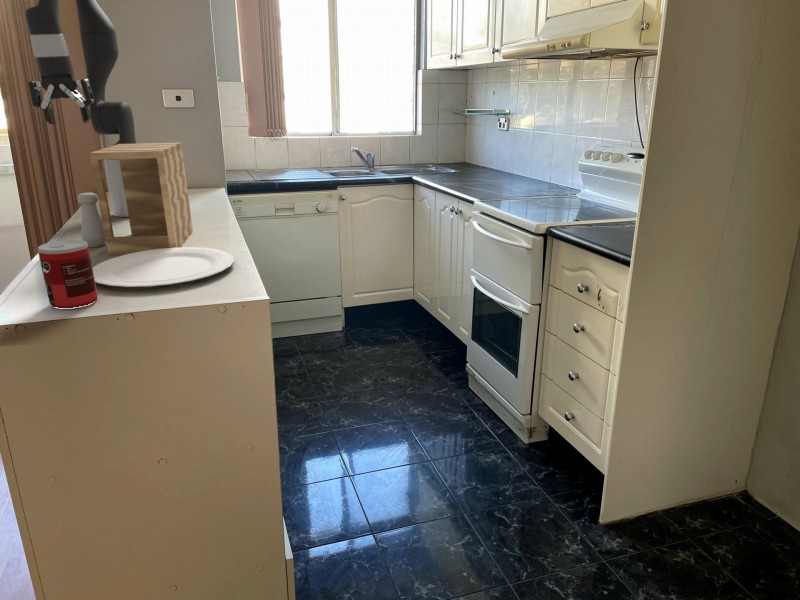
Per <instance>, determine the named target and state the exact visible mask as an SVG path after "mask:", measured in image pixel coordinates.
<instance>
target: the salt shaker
mask: <svg viewBox="0 0 800 600" xmlns="http://www.w3.org/2000/svg"><path fill="white" fill-rule="evenodd" d="M77 202H78V204H80V205H81V227H80V228H81V231H80V233H81V235H80V236H81V237H80V238H81V240H82V241H86V242H87V245H88V248H97V247H103V246H105V245H106V240H105V234H104V229H103V223H102V218H101V212H99V211H100V210H99V209H98V206H97V204H96V203H98V202H99V201H98V196H97V193H95V192H82V193H80V194H78V195H77Z"/></svg>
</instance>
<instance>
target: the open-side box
mask: <svg viewBox="0 0 800 600" xmlns="http://www.w3.org/2000/svg"><path fill="white" fill-rule="evenodd" d="M113 145H114V144H113ZM182 145H183V144H182V142H150V143H147V142H146V143H136V144H117V145H114V146H112V145H110V146H111V147H109V146H107V147H104V148H100V149H99V150H98V149H97V150H95V151H92V152H89V157H90V162H91V168H92V173H93V179H94V184H95V189H96V195H97V198H98V201H97V202H98V206H99V211H100V212H99V213H100V216H101V219H102V223H103V229H104V234H105V240H106V244H105V245H106V250H107V255H108V256H122V255H126V254H131V253H136V252H141V251H147V250H155V249H164V248H178V247H182V246H183V245H184V243H186V241H187V240H188V239H189V237H190V236H191V235H192V233H193V232H194V230H193V228H194V227H193V221H192V214H191V205H190V197H189V192H188V183H187V176H186V175H187V174H186V169H185V161H184V154H183V146H182ZM104 159H119V162H120V168H121V174H122V180H123V186H124V192H125V198H126V204H127V210H128V216H129V217H128V221H129V226H130V232H131V233H130V234H131V235H128V236H126V235H125V236H115V234H114V230H113V224H112V219H111V213H110V207H109V206H110V205H109V200H108V196H107V191H106V184H105V178H104V173H103V168H102V161H101V160H104ZM144 234H148V235H144Z"/></svg>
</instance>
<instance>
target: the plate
mask: <svg viewBox="0 0 800 600" xmlns="http://www.w3.org/2000/svg"><path fill="white" fill-rule="evenodd" d="M234 258H235V257H234V256H233V255H232V254H230V253H229V252H228V251H224V250H220V249H216V248H211V247H210V248H209V247H198V246H197V247H193V246H191V247H190V246H186V247H184V246H183V247H182V246H181V247H178V248H164V249H155V250H147V251H141V252H136V253H131V254H126V255H118V256H116V257H111V258H109V259H107V260H105V261H102V262H98V264H96V265H94V266H92V269H93V274H94V279H95V284H98V285H101V286H106V287H111V288H122V289H123V288H124V289H125V288H126V289H138V288H139V289H144V288H146V289H147V288H148V289H149V288H150V287H152V288H160V286H164V287H171V286H170V285H172V286H177V285H176V284H178V285H182V283H183V284H187V283H192V282H196V281H200V280H204V279H207V278H210V277H212V276H213V277H214V276H215V275H218V274H220V273H223V272H224V271H226V270H228V269H229V268H231V267H232V266H233V264H234V263H235V259H234Z"/></svg>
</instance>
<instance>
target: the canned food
mask: <svg viewBox="0 0 800 600" xmlns="http://www.w3.org/2000/svg"><path fill="white" fill-rule="evenodd" d="M89 248H90V247H88V245H87V242H86V241H83V240H82V239H81V240H79V239H64V240H57V241H51V242H45V243H43V244H41V245H39V246H38V247H37V253H38V257H39V263H40V267H41V271H42V276H43V280H44V284H45V288H46V294H47V298H48V302H49V304H50V306H51V305H52V306H53V307H58V308H73V307H79V306H84V305H88V304H90V303H93V302H94V301H96V300H97V301H98V295H99V294H98V291H97V285H96V283H95V279H94V274H93V269H92V268H93V265H92V258H91V253H90V249H89ZM97 301H96V302H97ZM52 306H51V307H52ZM53 307H52V308H53Z"/></svg>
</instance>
